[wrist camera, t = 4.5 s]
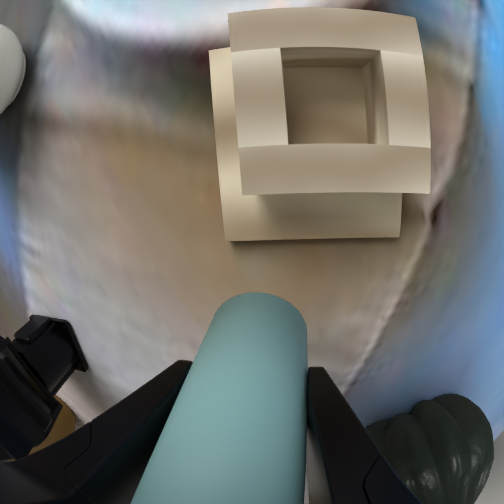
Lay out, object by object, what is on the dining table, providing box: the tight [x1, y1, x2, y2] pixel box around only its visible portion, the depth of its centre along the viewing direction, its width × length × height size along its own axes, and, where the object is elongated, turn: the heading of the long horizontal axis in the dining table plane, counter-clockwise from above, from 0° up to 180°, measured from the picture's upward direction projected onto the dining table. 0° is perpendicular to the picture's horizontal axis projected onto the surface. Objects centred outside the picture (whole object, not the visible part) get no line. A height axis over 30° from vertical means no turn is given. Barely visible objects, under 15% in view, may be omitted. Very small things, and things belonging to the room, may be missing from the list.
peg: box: [130, 292, 308, 504], centre depth 6 cm, size 3×3×8 cm
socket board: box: [209, 7, 431, 241], centre depth 14 cm, size 12×11×5 cm
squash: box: [365, 394, 494, 504], centre depth 19 cm, size 14×15×15 cm
